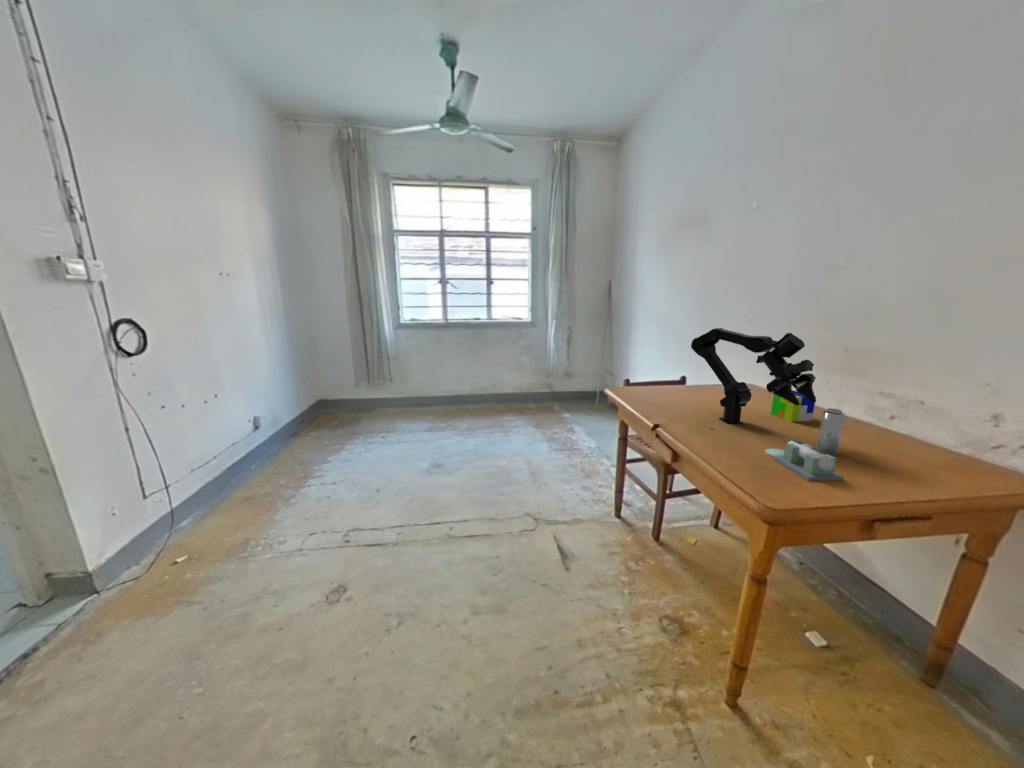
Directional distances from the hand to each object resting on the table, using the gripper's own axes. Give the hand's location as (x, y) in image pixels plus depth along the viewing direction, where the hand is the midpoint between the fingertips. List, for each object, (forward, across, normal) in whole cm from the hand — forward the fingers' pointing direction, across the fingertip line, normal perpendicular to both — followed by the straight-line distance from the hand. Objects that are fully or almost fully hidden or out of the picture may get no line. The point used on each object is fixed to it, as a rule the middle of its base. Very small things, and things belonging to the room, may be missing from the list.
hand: (806, 403), depth 137 cm
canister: (+16, 0, +4) cm, 16 cm away
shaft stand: (+20, -21, +1) cm, 28 cm away
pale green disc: (+12, -16, +8) cm, 22 cm away
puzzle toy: (-4, +28, +24) cm, 37 cm away
